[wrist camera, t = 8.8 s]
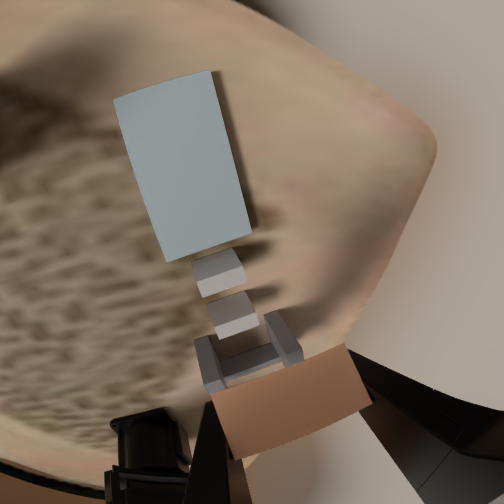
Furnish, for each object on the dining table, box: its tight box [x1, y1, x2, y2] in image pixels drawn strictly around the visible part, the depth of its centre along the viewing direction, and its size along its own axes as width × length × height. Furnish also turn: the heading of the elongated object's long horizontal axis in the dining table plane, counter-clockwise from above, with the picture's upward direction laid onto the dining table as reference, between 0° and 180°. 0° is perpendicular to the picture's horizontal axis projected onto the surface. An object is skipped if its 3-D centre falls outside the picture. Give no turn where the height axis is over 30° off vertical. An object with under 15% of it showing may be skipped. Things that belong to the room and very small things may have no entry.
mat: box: [113, 70, 252, 262], centre depth 18 cm, size 6×11×1 cm, turn 14°
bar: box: [210, 343, 373, 460], centre depth 12 cm, size 4×10×2 cm
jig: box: [191, 248, 304, 396], centre depth 21 cm, size 7×10×5 cm
